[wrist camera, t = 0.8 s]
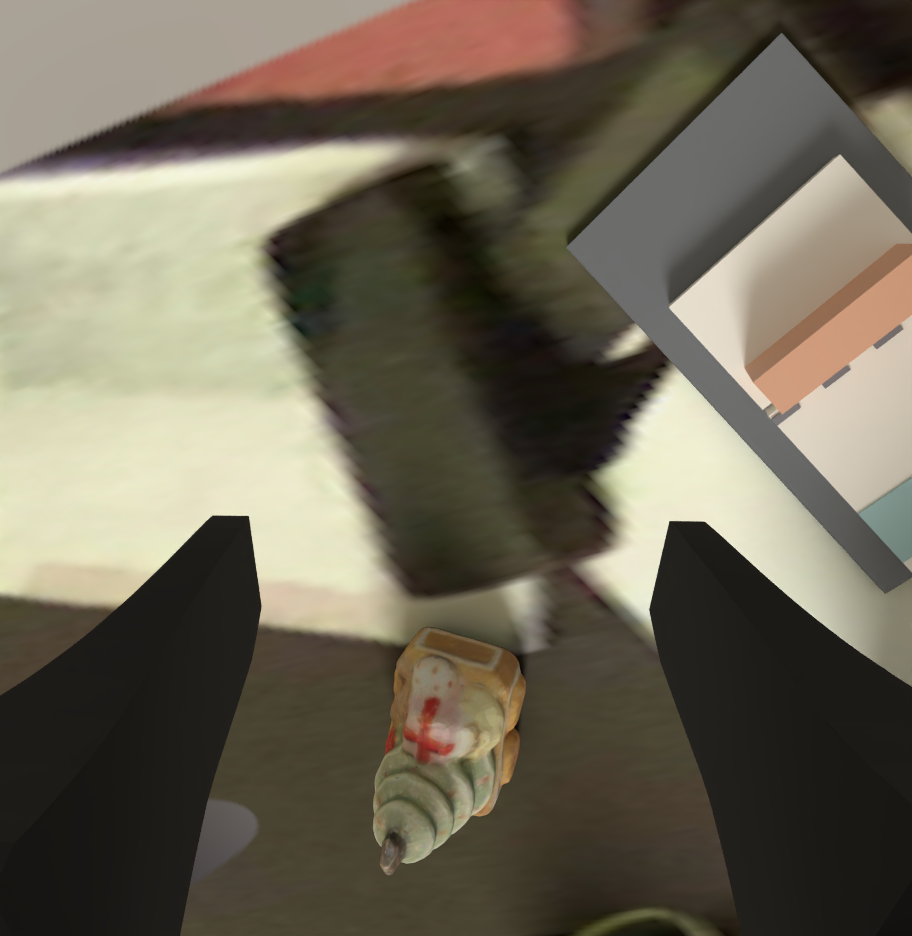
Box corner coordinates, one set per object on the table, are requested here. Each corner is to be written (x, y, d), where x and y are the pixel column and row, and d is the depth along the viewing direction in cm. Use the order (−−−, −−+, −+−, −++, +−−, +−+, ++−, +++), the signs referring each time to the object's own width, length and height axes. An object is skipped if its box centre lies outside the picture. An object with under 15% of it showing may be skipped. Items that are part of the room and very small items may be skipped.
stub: (932, 267, 26) (978, 272, 22) (759, 404, 28) (773, 428, 24) (833, 157, 25) (862, 143, 22) (668, 305, 28) (668, 315, 24)
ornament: (402, 609, 35) (307, 739, 26) (532, 627, 34) (480, 772, 25) (403, 752, 38) (317, 919, 28) (524, 776, 36) (475, 960, 27)
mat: (1135, 430, 26) (1142, 433, 25) (882, 589, 29) (885, 593, 29) (780, 35, 25) (781, 32, 25) (567, 247, 29) (566, 247, 29)
